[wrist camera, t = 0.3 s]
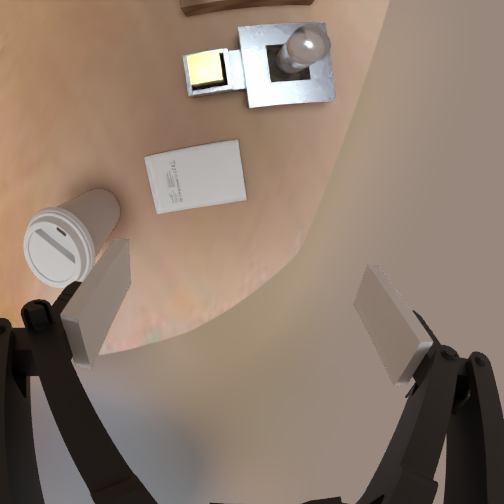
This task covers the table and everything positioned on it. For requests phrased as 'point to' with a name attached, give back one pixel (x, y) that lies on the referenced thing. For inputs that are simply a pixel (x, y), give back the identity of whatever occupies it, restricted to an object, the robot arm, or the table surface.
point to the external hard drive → (196, 176)
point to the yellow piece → (205, 69)
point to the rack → (231, 5)
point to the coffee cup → (70, 237)
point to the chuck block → (257, 71)
